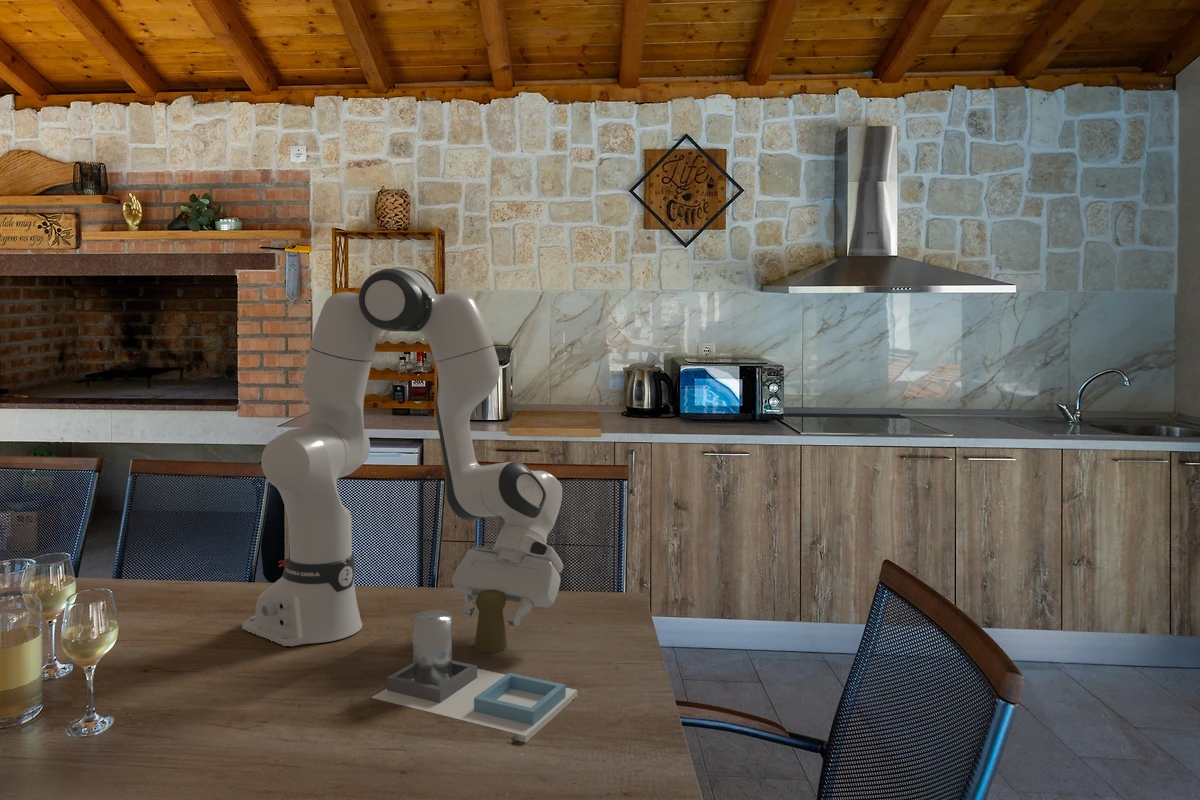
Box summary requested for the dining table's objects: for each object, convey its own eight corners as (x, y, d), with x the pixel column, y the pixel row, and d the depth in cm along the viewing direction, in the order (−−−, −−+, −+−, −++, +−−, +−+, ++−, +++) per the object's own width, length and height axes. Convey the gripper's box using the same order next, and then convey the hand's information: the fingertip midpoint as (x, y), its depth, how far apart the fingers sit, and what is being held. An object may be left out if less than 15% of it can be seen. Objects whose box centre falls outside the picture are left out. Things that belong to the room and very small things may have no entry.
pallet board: (371, 703, 126) (371, 684, 126) (434, 665, 140) (434, 647, 140) (525, 742, 115) (525, 721, 114) (577, 696, 129) (577, 677, 129)
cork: (501, 660, 143) (501, 598, 142) (468, 657, 144) (468, 595, 143) (512, 647, 149) (512, 587, 148) (480, 644, 150) (480, 584, 149)
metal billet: (405, 687, 129) (404, 619, 128) (428, 673, 135) (428, 607, 134) (437, 695, 127) (436, 625, 126) (459, 680, 132) (459, 613, 131)
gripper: (463, 536, 155) (432, 602, 147) (560, 549, 147) (533, 620, 139) (477, 553, 160) (447, 618, 152) (571, 567, 151) (545, 637, 143)
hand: (489, 619), depth 145 cm, fingers open, 8 cm apart
